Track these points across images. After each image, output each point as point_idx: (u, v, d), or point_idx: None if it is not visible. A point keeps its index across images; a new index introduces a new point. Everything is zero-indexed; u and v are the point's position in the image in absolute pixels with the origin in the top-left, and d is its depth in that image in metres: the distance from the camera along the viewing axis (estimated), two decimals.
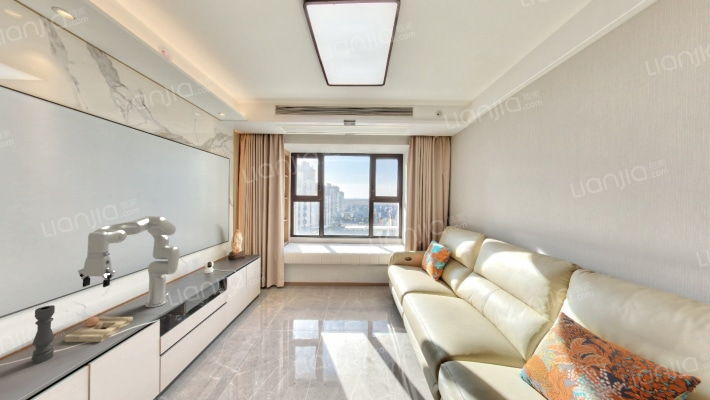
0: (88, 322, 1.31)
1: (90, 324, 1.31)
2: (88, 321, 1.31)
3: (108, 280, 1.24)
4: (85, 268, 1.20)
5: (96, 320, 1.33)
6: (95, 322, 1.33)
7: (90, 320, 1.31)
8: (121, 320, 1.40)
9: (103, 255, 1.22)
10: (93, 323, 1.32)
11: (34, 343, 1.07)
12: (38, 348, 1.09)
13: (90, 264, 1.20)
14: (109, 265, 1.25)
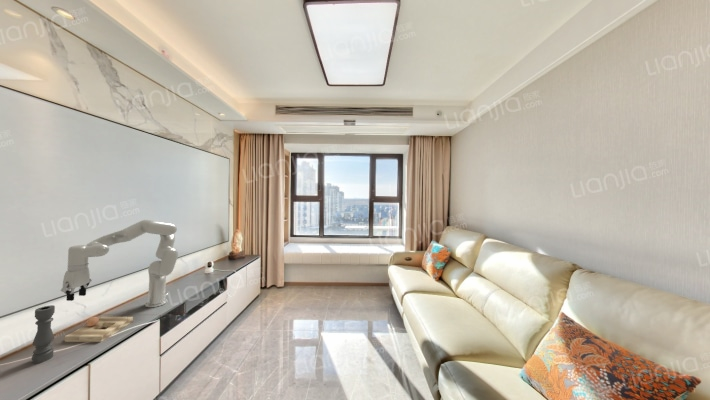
0: (88, 322, 1.31)
1: (90, 324, 1.31)
2: (88, 321, 1.31)
3: None
4: (74, 281, 1.28)
5: (96, 320, 1.33)
6: (95, 322, 1.33)
7: (90, 320, 1.31)
8: (121, 320, 1.40)
9: None
10: (93, 323, 1.32)
11: (34, 343, 1.07)
12: (38, 348, 1.09)
13: (79, 275, 1.31)
14: None
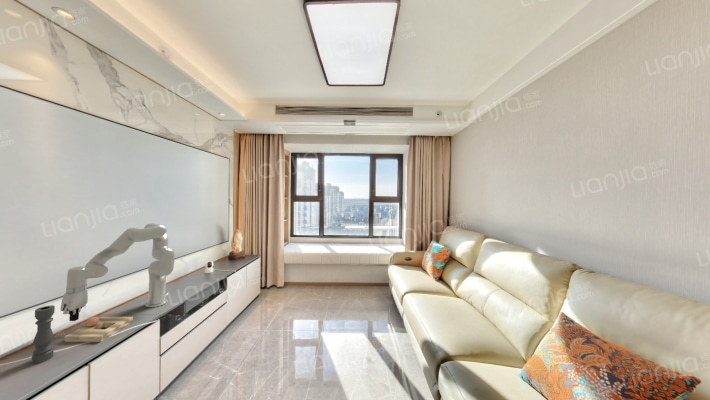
0: (88, 322, 1.31)
1: (90, 324, 1.31)
2: (88, 321, 1.31)
3: None
4: (72, 304, 1.28)
5: (96, 320, 1.33)
6: (95, 322, 1.33)
7: (90, 320, 1.31)
8: (121, 320, 1.40)
9: None
10: (93, 323, 1.32)
11: (34, 343, 1.07)
12: (38, 348, 1.09)
13: (78, 297, 1.31)
14: None
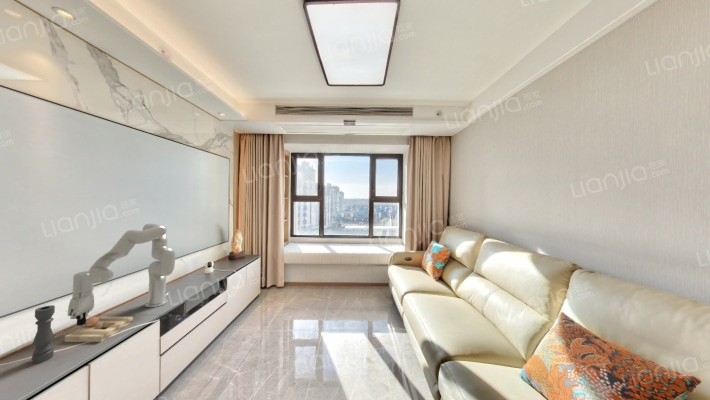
0: (88, 322, 1.31)
1: (90, 324, 1.31)
2: (88, 321, 1.31)
3: None
4: (79, 308, 1.29)
5: (96, 320, 1.33)
6: (95, 322, 1.33)
7: (90, 320, 1.31)
8: (121, 320, 1.40)
9: None
10: (93, 323, 1.32)
11: (34, 343, 1.07)
12: (38, 348, 1.09)
13: (84, 302, 1.31)
14: None
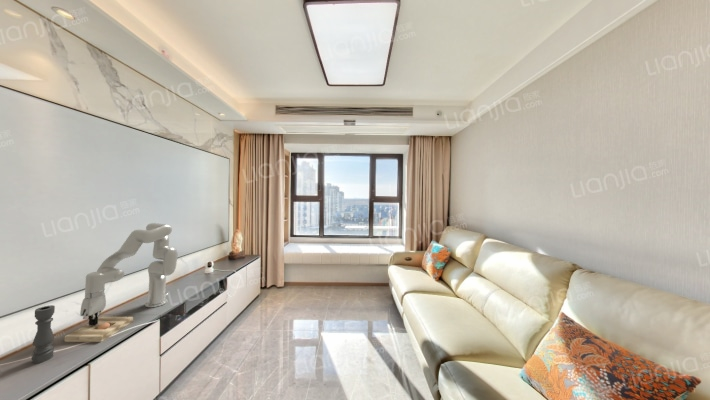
0: None
1: (98, 327, 1.31)
2: None
3: None
4: (91, 308, 1.30)
5: None
6: None
7: None
8: (121, 320, 1.40)
9: None
10: None
11: (34, 343, 1.07)
12: (38, 348, 1.09)
13: (96, 302, 1.32)
14: None
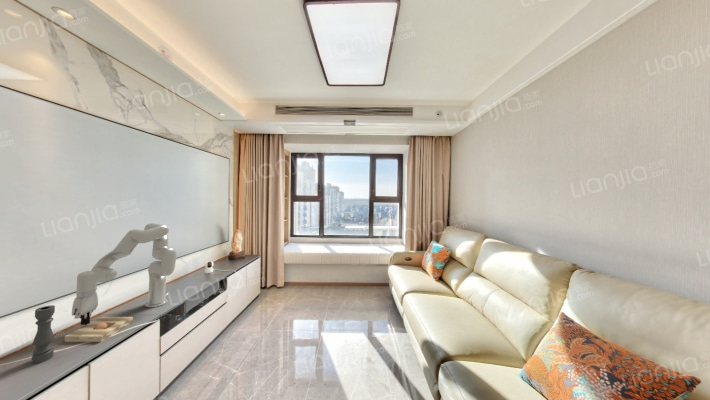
0: None
1: None
2: None
3: None
4: (83, 308, 1.29)
5: None
6: None
7: None
8: (121, 320, 1.40)
9: None
10: None
11: (34, 343, 1.07)
12: (38, 348, 1.09)
13: (88, 301, 1.32)
14: None
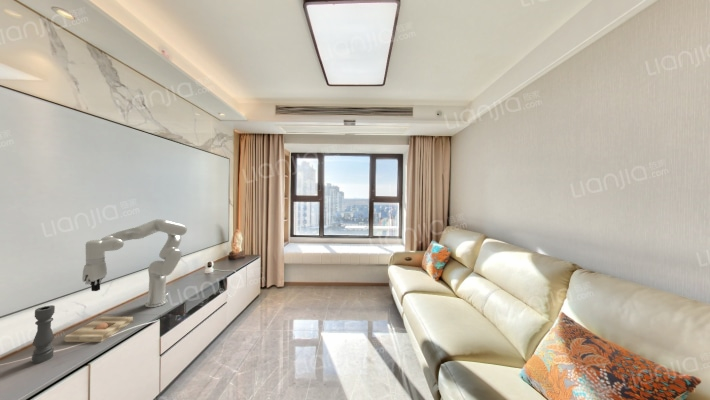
0: None
1: None
2: None
3: None
4: (93, 274, 1.34)
5: None
6: None
7: None
8: (121, 320, 1.40)
9: None
10: None
11: (34, 343, 1.07)
12: (38, 348, 1.09)
13: (98, 268, 1.36)
14: None
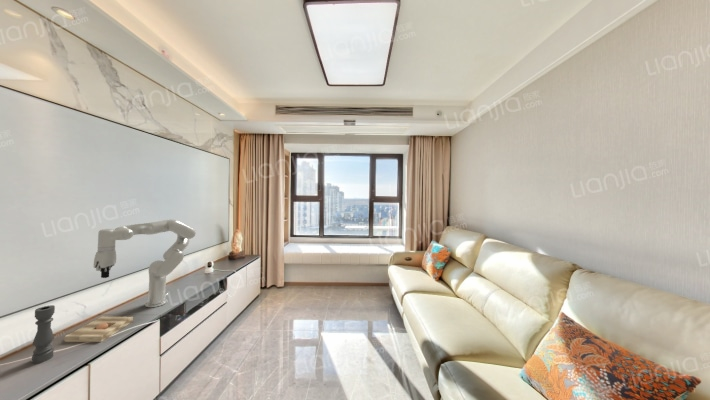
0: None
1: (96, 328, 1.31)
2: None
3: None
4: (103, 261, 1.41)
5: None
6: None
7: None
8: (121, 320, 1.40)
9: None
10: None
11: (34, 343, 1.07)
12: (38, 348, 1.09)
13: (108, 256, 1.43)
14: None
